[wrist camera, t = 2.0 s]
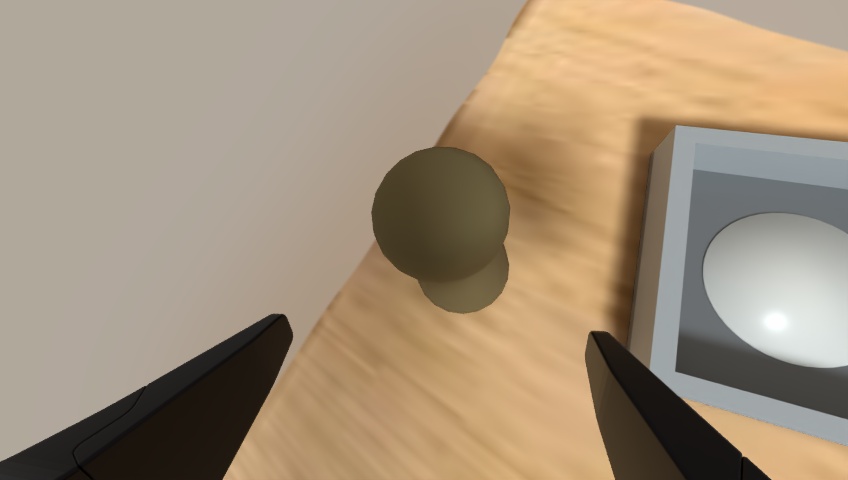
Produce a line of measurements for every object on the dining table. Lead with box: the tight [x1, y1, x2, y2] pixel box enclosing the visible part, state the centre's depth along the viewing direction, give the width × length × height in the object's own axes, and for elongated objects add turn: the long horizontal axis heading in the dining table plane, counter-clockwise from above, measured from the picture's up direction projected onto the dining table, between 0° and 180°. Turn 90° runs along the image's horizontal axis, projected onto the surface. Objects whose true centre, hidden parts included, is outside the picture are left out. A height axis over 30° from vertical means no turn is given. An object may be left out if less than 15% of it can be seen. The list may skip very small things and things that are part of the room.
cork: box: [372, 147, 510, 314], centre depth 16 cm, size 6×6×11 cm
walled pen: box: [626, 125, 848, 446], centre depth 16 cm, size 14×14×3 cm
